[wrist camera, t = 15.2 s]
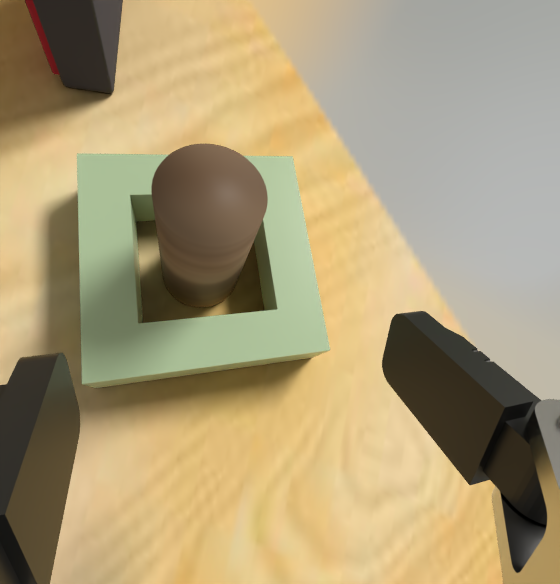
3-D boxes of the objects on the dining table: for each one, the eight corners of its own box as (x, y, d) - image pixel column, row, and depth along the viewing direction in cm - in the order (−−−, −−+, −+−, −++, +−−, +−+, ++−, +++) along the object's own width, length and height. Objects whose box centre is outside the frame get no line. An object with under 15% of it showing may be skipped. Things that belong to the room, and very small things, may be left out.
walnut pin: (241, 303, 23) (275, 242, 15) (165, 311, 22) (155, 248, 13) (232, 237, 24) (259, 144, 16) (160, 240, 23) (147, 142, 15)
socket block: (312, 357, 23) (330, 350, 20) (96, 388, 20) (81, 384, 17) (280, 183, 26) (292, 156, 23) (89, 184, 23) (76, 153, 20)
